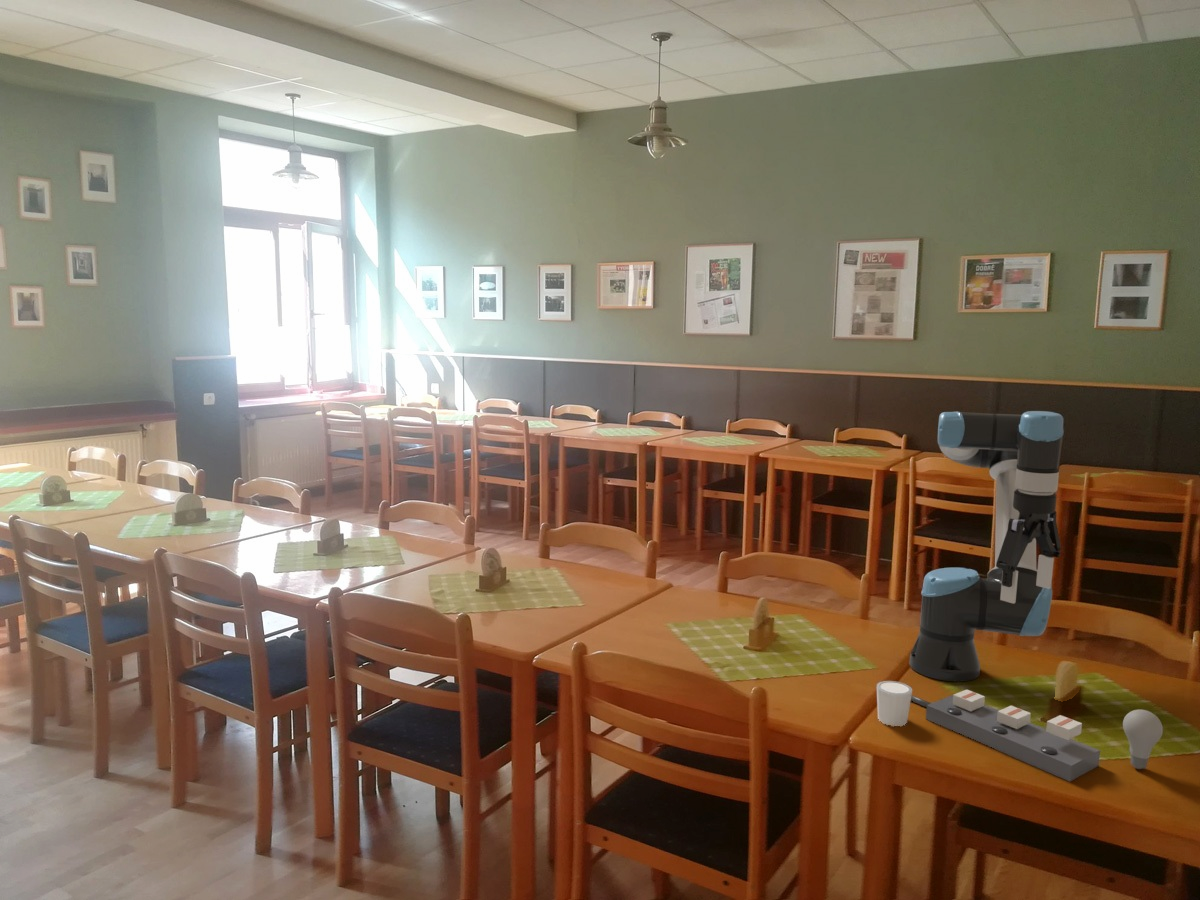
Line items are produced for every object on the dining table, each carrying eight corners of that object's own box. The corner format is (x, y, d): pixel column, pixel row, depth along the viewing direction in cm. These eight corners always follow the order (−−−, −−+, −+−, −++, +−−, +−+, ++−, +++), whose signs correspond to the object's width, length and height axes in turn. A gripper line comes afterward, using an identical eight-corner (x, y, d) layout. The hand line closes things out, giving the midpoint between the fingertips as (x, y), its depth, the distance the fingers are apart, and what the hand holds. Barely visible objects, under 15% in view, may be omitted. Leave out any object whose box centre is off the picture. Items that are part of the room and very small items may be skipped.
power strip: (914, 690, 191) (915, 676, 191) (1098, 765, 160) (1100, 748, 159) (885, 701, 185) (886, 686, 185) (1069, 781, 154) (1071, 764, 153)
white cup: (912, 729, 173) (915, 696, 172) (876, 726, 174) (878, 693, 173) (907, 714, 180) (909, 681, 179) (872, 711, 181) (874, 678, 180)
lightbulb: (1111, 760, 162) (1116, 704, 160) (1142, 759, 162) (1149, 703, 160) (1133, 777, 156) (1139, 719, 154) (1166, 776, 156) (1172, 718, 154)
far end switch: (1059, 725, 164) (1060, 714, 163) (1081, 733, 161) (1082, 722, 160) (1046, 731, 161) (1047, 720, 161) (1067, 740, 158) (1069, 729, 158)
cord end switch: (966, 698, 180) (966, 689, 179) (984, 705, 176) (984, 696, 176) (952, 704, 177) (953, 694, 177) (970, 711, 174) (971, 701, 173)
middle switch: (1010, 715, 172) (1011, 705, 171) (1030, 722, 169) (1030, 712, 168) (996, 721, 169) (997, 710, 169) (1016, 729, 166) (1017, 718, 166)
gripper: (1048, 478, 182) (1039, 576, 186) (982, 496, 168) (973, 602, 172) (1086, 485, 176) (1075, 586, 180) (1020, 504, 162) (1010, 613, 166)
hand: (1025, 594), depth 176 cm, fingers open, 13 cm apart
